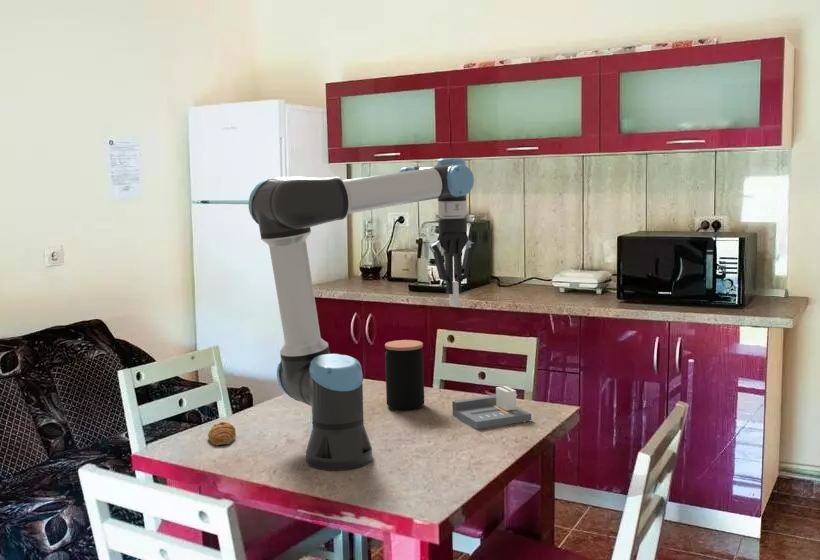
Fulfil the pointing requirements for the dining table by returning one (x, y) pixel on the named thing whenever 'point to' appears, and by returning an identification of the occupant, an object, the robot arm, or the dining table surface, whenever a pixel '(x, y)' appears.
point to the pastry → (222, 433)
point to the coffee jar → (404, 375)
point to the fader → (506, 398)
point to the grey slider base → (486, 413)
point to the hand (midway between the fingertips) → (454, 305)
